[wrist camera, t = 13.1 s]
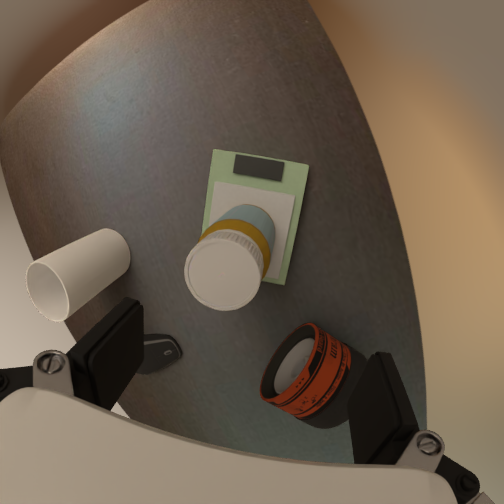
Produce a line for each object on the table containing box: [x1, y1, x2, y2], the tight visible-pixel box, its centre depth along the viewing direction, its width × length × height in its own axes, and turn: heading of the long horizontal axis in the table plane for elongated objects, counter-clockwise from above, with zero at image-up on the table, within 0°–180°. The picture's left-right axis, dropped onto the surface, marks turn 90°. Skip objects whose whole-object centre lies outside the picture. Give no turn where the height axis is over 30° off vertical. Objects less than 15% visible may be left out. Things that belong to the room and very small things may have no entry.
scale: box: [202, 149, 309, 285], centre depth 39 cm, size 16×12×3 cm
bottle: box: [184, 204, 275, 311], centre depth 30 cm, size 7×7×15 cm
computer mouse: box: [136, 334, 181, 375], centre depth 48 cm, size 7×12×4 cm, turn 111°
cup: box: [26, 229, 131, 322], centre depth 37 cm, size 8×8×16 cm
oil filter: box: [260, 323, 368, 429], centre depth 39 cm, size 13×12×13 cm
